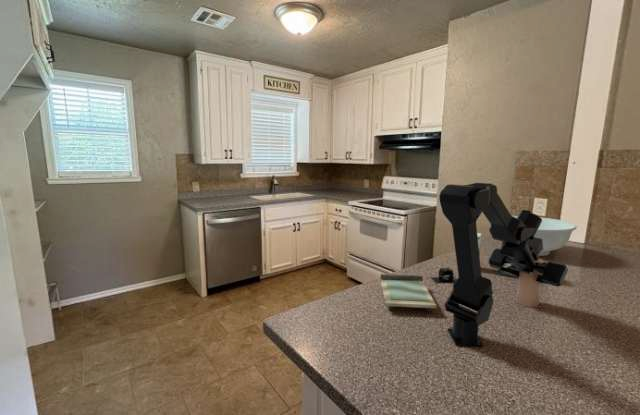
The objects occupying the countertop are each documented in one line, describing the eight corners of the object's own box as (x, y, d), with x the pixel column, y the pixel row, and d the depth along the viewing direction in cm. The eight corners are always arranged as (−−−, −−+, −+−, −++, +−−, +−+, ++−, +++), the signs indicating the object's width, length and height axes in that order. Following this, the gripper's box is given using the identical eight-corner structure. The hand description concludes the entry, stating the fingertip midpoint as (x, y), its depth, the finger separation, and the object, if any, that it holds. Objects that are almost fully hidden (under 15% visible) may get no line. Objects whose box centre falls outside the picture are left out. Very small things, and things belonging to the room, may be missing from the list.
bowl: (474, 245, 152) (477, 217, 149) (522, 239, 161) (525, 213, 159) (536, 266, 122) (540, 232, 119) (590, 258, 131) (595, 226, 129)
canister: (542, 307, 88) (548, 262, 86) (522, 306, 89) (527, 262, 87) (531, 298, 94) (536, 256, 92) (512, 298, 95) (517, 256, 92)
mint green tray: (435, 314, 85) (436, 300, 84) (386, 312, 86) (386, 298, 86) (421, 287, 103) (422, 275, 102) (380, 286, 104) (380, 274, 103)
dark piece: (433, 285, 105) (434, 273, 105) (424, 277, 113) (425, 266, 112) (467, 284, 106) (468, 272, 106) (456, 276, 114) (457, 265, 113)
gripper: (569, 236, 78) (579, 267, 85) (496, 223, 93) (510, 251, 101) (553, 271, 75) (565, 300, 83) (480, 252, 90) (496, 278, 98)
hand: (531, 280), depth 91 cm, fingers closed on canister, 6 cm apart
